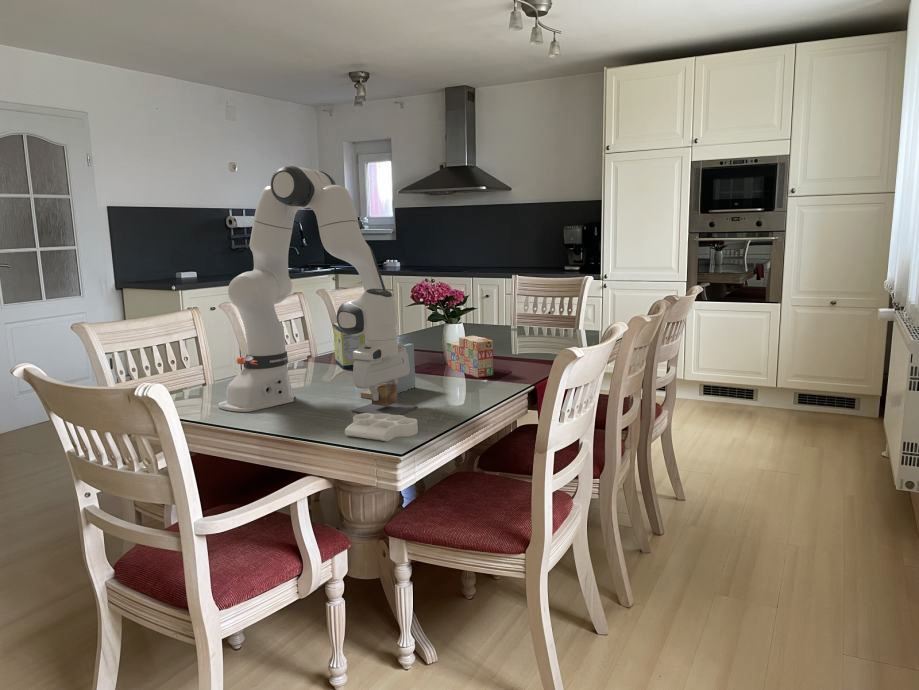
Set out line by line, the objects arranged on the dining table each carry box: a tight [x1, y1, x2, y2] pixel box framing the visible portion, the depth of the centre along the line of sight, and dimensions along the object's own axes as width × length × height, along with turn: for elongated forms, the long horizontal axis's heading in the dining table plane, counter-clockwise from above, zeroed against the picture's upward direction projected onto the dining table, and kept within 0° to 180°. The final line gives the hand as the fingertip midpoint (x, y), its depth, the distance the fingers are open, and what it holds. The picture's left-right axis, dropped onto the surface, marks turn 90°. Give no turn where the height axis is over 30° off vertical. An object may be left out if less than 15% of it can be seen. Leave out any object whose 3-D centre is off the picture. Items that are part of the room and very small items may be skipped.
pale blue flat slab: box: [360, 343, 416, 400], centre depth 207 cm, size 18×7×14 cm, turn 147°
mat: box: [351, 402, 419, 416], centre depth 187 cm, size 12×14×1 cm
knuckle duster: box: [344, 413, 419, 442], centre depth 168 cm, size 3×18×15 cm
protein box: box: [332, 322, 365, 370], centre depth 252 cm, size 10×16×16 cm
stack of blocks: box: [446, 335, 494, 378], centre depth 235 cm, size 21×6×12 cm, turn 30°
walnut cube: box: [371, 383, 398, 406], centre depth 187 cm, size 5×5×5 cm
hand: (384, 397), depth 187 cm, fingers closed on walnut cube, 5 cm apart
